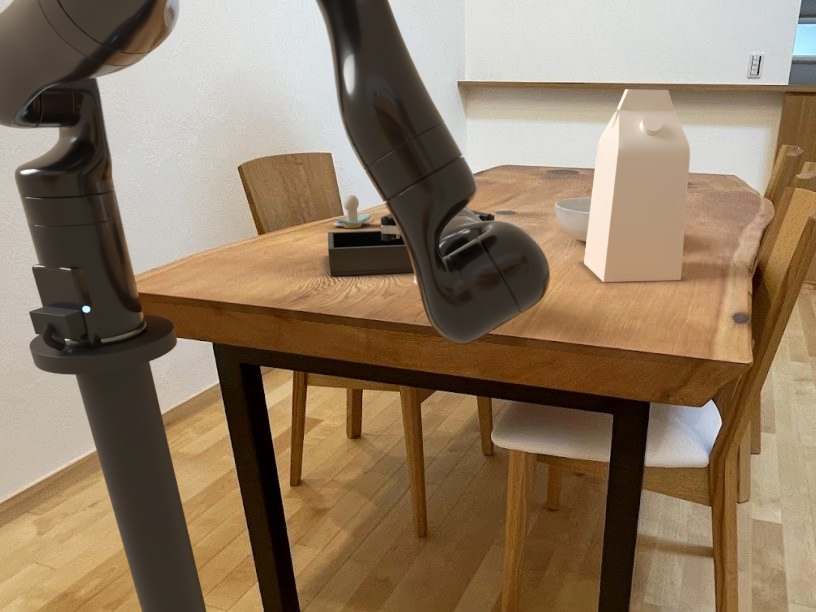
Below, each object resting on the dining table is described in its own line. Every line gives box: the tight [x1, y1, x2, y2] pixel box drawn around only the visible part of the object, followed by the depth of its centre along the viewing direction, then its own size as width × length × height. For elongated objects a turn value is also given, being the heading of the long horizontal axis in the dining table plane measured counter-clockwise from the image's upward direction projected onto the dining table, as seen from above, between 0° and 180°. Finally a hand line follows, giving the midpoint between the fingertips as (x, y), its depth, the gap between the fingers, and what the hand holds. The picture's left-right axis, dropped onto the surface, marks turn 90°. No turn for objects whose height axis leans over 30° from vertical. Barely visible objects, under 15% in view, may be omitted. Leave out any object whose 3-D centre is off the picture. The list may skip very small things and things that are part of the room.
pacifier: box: [332, 194, 371, 229], centre depth 132 cm, size 7×6×6 cm
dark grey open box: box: [327, 229, 414, 277], centre depth 104 cm, size 13×13×4 cm
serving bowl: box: [554, 196, 592, 243], centre depth 121 cm, size 21×21×7 cm
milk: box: [583, 88, 691, 283], centre depth 98 cm, size 12×12×26 cm
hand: (427, 213), depth 83 cm, fingers closed
